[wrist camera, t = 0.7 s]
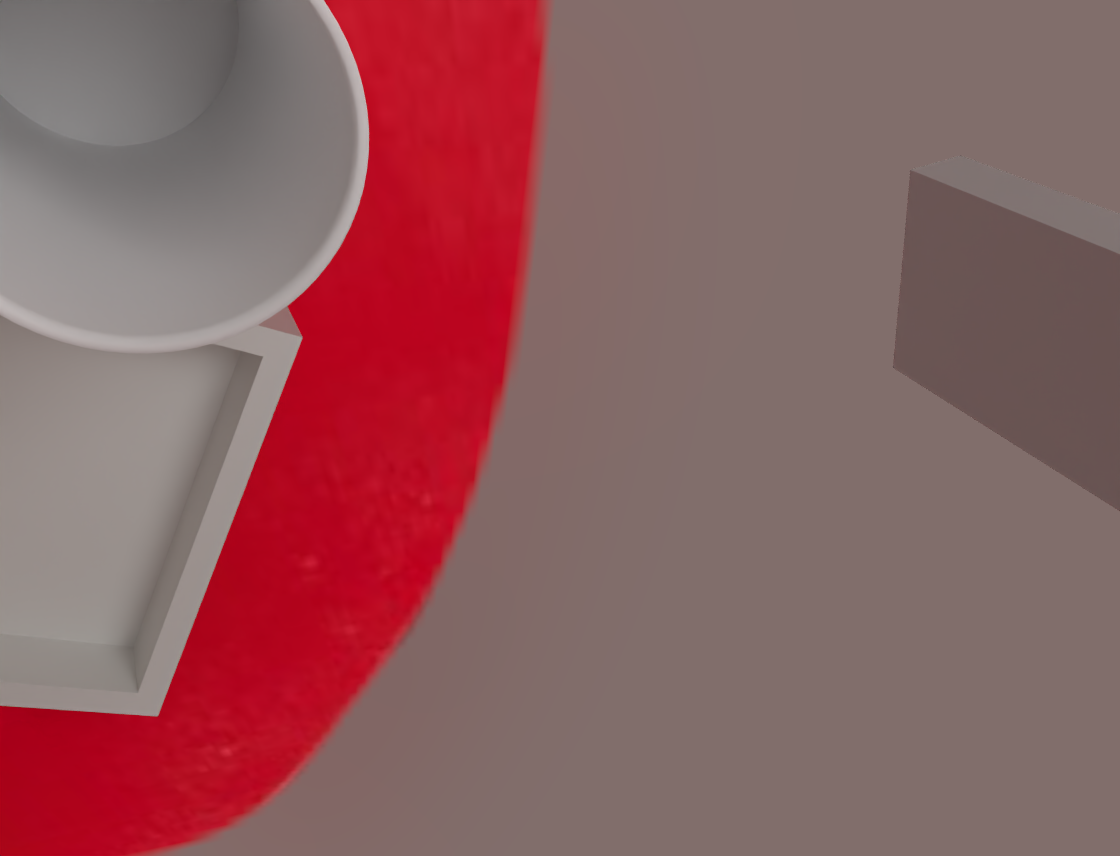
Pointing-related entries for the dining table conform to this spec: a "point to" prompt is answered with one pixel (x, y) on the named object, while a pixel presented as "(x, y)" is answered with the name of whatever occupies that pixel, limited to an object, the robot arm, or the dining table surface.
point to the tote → (120, 505)
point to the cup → (171, 165)
